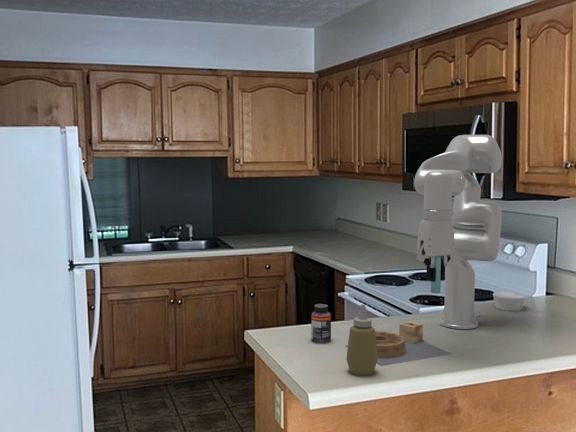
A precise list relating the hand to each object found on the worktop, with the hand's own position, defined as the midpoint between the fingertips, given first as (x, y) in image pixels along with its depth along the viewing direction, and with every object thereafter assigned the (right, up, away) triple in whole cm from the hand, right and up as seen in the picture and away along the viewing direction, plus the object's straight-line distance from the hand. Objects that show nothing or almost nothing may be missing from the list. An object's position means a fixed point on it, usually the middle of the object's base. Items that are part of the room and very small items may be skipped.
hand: (435, 279), depth 176 cm
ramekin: (+40, -16, +55) cm, 70 cm away
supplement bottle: (-32, -20, +12) cm, 40 cm away
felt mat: (-10, -21, +4) cm, 24 cm away
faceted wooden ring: (-15, -21, +3) cm, 26 cm away
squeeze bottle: (-23, -23, -14) cm, 35 cm away
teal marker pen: (0, -4, 0) cm, 4 cm away
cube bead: (-5, -20, +13) cm, 24 cm away
